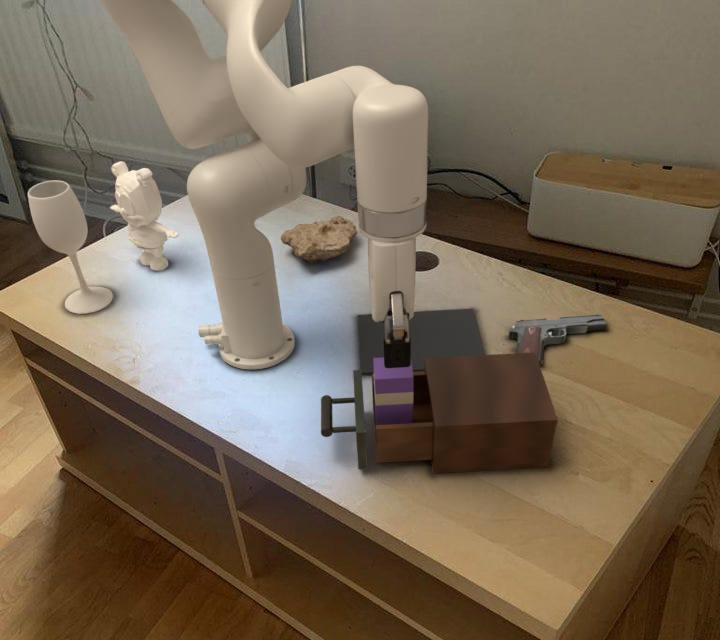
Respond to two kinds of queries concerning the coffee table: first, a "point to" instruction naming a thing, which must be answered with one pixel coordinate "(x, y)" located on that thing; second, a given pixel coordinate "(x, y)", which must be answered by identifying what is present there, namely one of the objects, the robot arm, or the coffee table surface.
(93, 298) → the wineglass
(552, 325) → the handgun
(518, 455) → the cabinet
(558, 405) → the coffee table surface
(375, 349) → the mat
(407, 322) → the robot arm
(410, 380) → the snack box
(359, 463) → the drawer
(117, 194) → the white cartoon figurine
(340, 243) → the rock
